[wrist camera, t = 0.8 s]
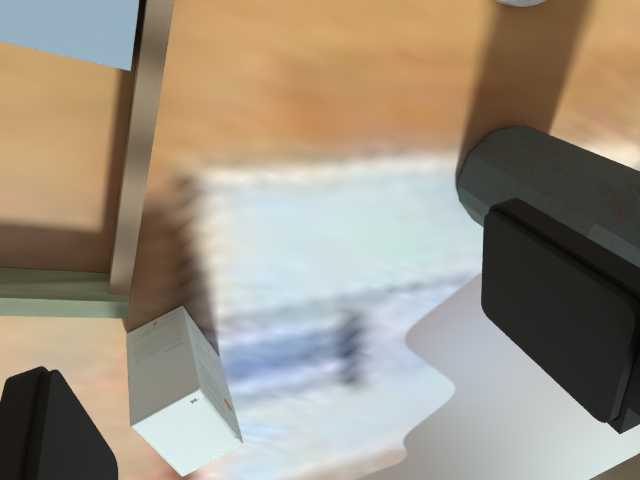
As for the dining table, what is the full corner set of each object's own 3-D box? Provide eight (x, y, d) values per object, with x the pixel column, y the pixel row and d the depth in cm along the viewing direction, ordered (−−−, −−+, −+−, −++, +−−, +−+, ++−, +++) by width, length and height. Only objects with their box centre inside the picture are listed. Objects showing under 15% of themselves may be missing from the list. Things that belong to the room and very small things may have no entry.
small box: (124, 332, 42) (126, 426, 34) (183, 302, 43) (199, 387, 34) (169, 385, 47) (181, 480, 38) (221, 358, 48) (244, 445, 39)
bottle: (513, 222, 53) (855, 447, 28) (440, 215, 49) (767, 472, 24) (554, 129, 48) (998, 301, 24) (478, 114, 44) (920, 302, 20)
